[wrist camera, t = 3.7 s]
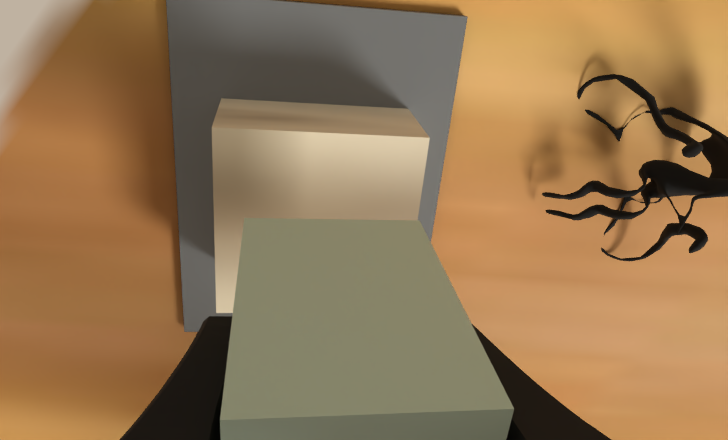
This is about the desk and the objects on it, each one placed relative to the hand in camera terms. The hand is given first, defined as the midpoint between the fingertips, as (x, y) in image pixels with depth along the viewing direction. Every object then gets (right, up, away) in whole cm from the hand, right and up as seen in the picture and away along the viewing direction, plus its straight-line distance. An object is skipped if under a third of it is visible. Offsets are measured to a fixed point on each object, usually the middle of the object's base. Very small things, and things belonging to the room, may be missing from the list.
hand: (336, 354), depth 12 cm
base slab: (-1, +4, +8) cm, 9 cm away
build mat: (-1, +4, +8) cm, 9 cm away
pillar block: (0, +1, +2) cm, 2 cm away
